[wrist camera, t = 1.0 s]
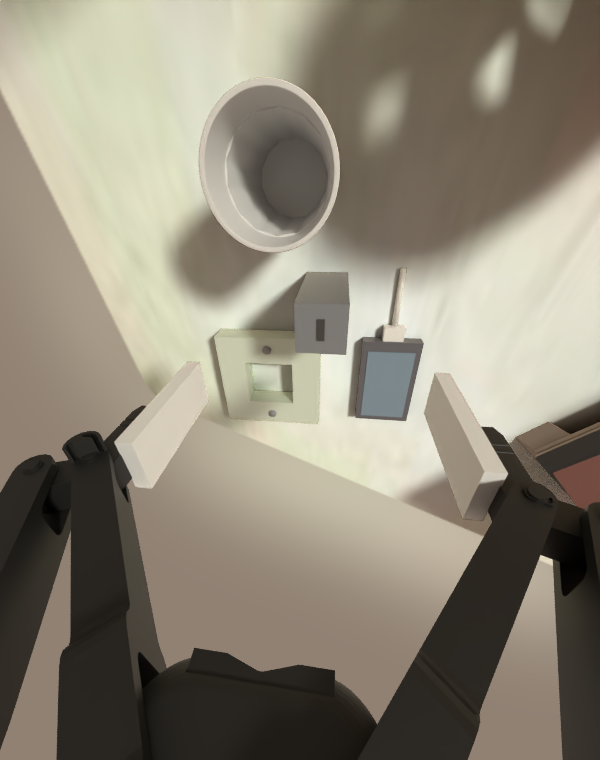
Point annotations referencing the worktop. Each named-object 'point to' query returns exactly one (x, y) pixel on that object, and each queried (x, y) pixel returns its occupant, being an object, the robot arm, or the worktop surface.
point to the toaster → (568, 459)
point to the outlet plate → (267, 349)
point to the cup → (269, 164)
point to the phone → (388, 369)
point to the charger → (322, 313)
